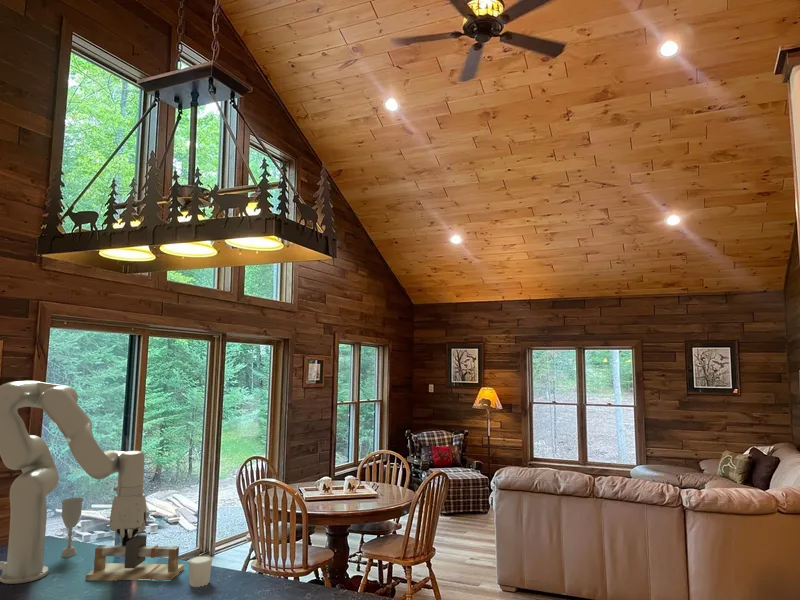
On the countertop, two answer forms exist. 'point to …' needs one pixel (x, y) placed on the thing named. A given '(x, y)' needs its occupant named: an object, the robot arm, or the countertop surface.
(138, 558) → the collar
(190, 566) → the cream short cylinder
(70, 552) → the chalice
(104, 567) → the pipe rig
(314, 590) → the countertop surface
